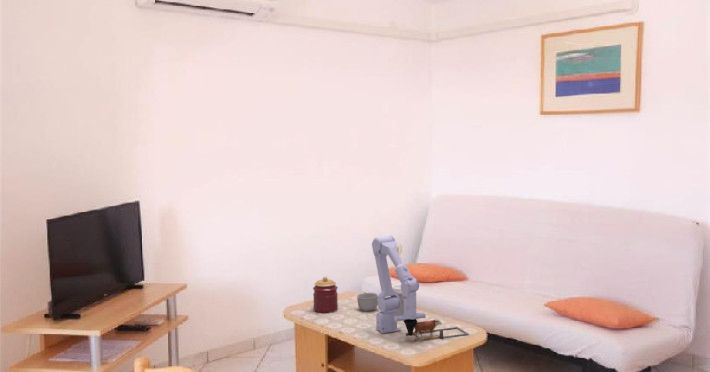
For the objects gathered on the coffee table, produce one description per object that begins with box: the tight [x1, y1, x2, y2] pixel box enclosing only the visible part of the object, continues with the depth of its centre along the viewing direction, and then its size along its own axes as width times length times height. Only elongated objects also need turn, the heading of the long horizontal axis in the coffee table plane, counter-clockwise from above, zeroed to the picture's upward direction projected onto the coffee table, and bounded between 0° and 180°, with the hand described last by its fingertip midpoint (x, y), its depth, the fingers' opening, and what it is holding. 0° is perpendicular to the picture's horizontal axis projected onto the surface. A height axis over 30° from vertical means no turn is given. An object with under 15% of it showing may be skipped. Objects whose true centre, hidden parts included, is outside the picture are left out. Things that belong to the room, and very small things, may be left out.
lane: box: [432, 326, 470, 339], centre depth 284 cm, size 13×11×1 cm
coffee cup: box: [392, 285, 404, 316], centre depth 310 cm, size 10×10×15 cm
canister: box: [312, 276, 339, 314], centre depth 325 cm, size 13×13×18 cm
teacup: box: [356, 292, 379, 312], centre depth 325 cm, size 14×11×8 cm
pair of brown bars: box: [405, 328, 444, 343], centre depth 280 cm, size 14×12×4 cm
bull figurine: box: [413, 317, 443, 338], centre depth 280 cm, size 4×13×8 cm, turn 106°
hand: (410, 335), depth 278 cm, fingers closed
